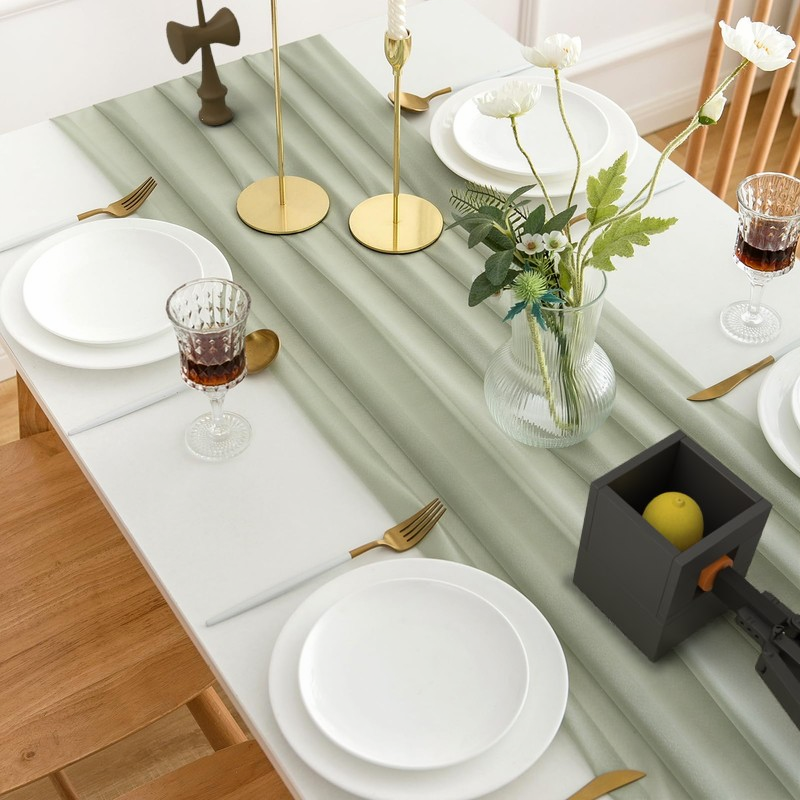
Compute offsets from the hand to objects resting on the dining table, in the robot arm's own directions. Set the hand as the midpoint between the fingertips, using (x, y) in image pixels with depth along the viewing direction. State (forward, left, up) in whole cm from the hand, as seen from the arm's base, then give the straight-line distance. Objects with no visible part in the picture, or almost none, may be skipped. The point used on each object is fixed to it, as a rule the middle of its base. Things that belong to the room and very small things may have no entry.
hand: (720, 578), depth 94 cm
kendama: (+63, -87, -10) cm, 108 cm away
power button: (+1, -1, -2) cm, 2 cm away
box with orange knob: (+4, -5, -9) cm, 11 cm away
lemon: (+4, -5, -4) cm, 7 cm away
